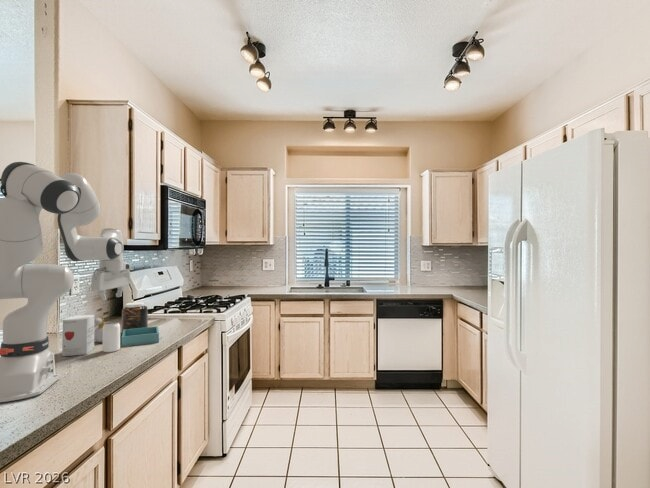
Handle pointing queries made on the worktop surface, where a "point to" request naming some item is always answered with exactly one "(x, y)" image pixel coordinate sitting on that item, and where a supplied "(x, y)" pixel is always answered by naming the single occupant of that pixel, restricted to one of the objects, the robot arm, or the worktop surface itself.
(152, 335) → the bin
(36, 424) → the worktop surface
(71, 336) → the supplement box
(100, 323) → the perfume bottle
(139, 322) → the jar
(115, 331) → the can
